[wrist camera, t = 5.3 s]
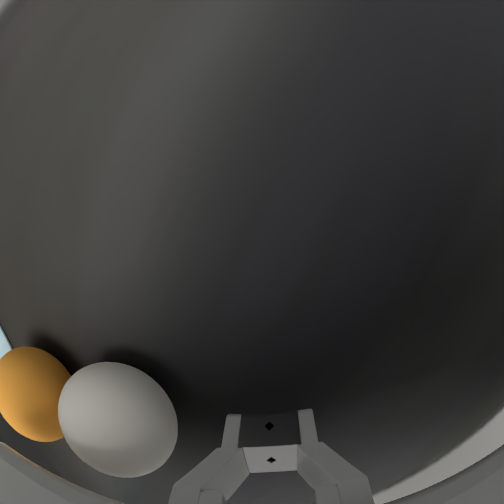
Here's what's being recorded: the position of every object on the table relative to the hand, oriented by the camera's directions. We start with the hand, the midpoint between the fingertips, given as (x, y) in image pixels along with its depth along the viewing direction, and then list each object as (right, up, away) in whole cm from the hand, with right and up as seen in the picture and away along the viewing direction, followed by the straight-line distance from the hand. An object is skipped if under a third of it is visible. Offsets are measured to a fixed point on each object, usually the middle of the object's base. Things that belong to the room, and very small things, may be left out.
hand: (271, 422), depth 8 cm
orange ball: (-11, -1, 0) cm, 11 cm away
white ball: (-6, -1, 0) cm, 6 cm away
